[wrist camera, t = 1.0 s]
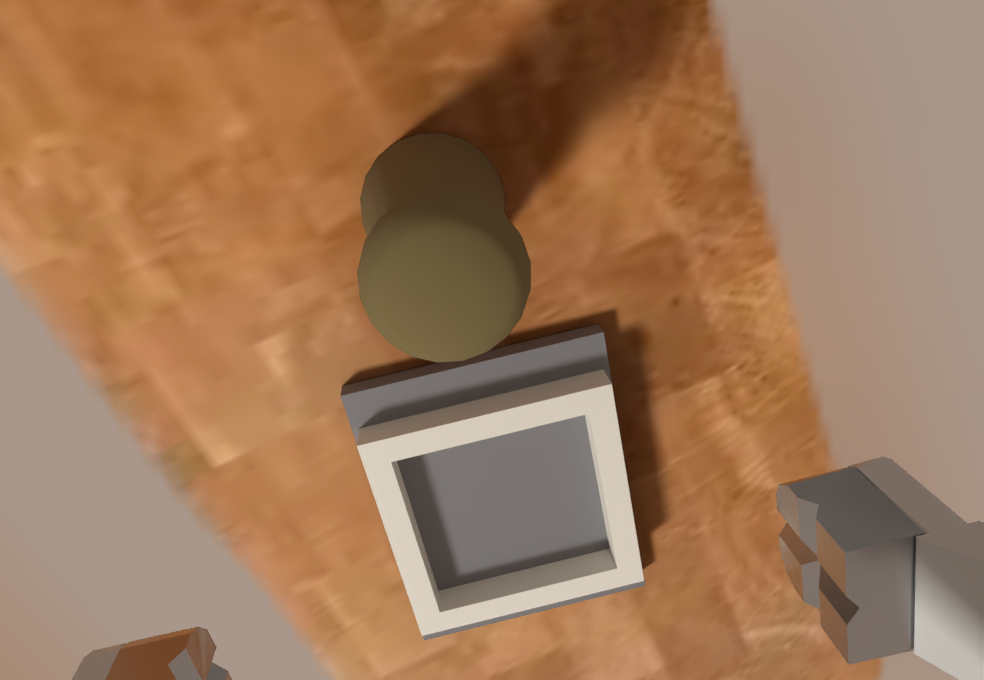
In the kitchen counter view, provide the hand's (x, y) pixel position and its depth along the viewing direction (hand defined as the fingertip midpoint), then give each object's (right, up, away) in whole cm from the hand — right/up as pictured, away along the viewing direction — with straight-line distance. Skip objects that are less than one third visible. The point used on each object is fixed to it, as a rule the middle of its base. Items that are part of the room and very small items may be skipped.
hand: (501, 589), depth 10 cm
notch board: (0, -4, +26) cm, 27 cm away
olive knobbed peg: (-3, +9, +21) cm, 23 cm away
